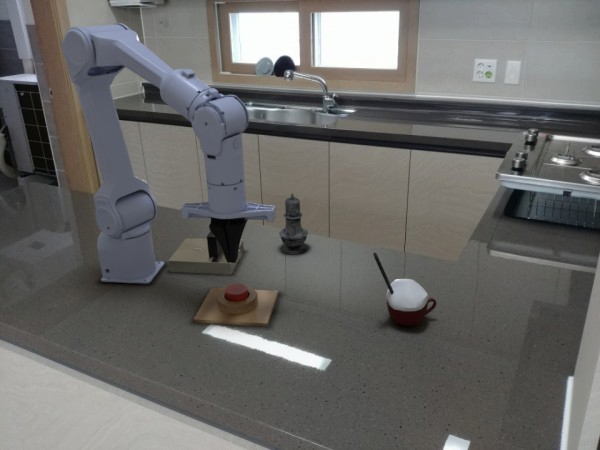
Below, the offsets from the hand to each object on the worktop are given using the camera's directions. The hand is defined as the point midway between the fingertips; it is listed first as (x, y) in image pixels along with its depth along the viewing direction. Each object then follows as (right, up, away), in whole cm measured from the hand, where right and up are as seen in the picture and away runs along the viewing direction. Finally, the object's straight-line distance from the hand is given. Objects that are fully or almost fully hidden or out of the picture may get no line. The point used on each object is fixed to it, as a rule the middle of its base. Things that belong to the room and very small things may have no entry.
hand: (232, 259), depth 86 cm
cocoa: (+27, -10, -1) cm, 29 cm away
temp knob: (-5, +1, +18) cm, 18 cm away
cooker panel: (-7, -2, +19) cm, 20 cm away
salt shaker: (+10, +1, +23) cm, 25 cm away
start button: (+1, -6, +2) cm, 7 cm away
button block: (+1, -8, +3) cm, 9 cm away
